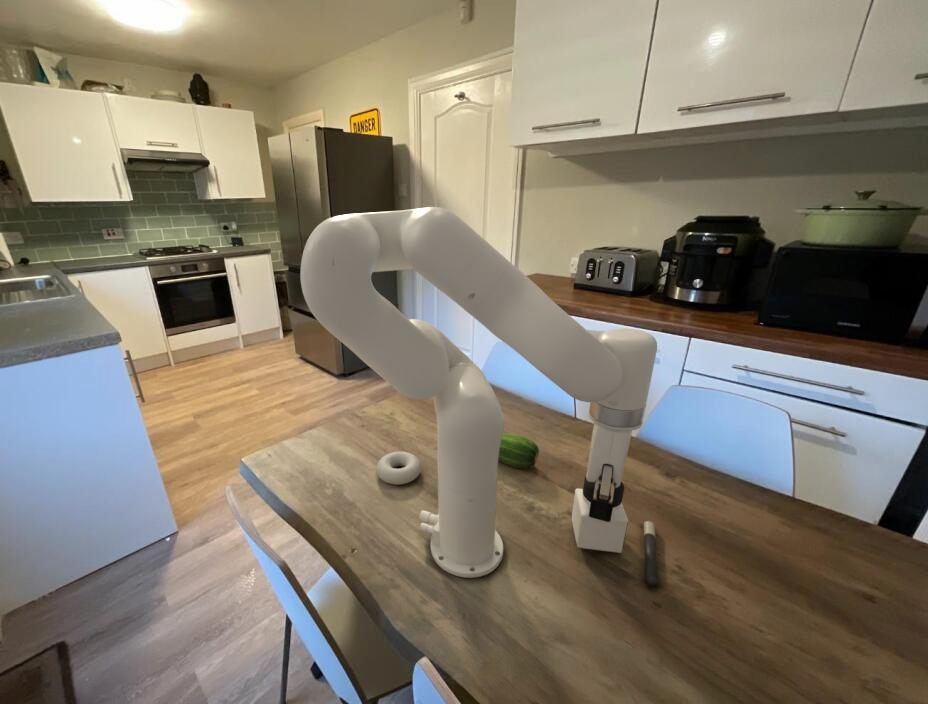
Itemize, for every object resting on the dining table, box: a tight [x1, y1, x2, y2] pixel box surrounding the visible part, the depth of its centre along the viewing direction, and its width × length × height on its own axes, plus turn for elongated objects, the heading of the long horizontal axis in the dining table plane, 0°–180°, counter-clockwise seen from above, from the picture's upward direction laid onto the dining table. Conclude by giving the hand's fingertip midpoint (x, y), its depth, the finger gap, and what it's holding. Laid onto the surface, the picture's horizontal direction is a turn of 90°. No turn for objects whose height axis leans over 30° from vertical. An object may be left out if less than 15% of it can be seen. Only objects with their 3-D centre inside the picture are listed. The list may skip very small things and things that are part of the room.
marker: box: [643, 520, 659, 587], centre depth 68 cm, size 14×2×2 cm
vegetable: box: [498, 432, 540, 470], centre depth 95 cm, size 7×7×20 cm
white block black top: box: [571, 475, 629, 554], centre depth 69 cm, size 7×7×12 cm
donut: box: [376, 450, 422, 486], centre depth 91 cm, size 10×4×10 cm
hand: (601, 502), depth 69 cm, fingers closed on white block black top, 7 cm apart
